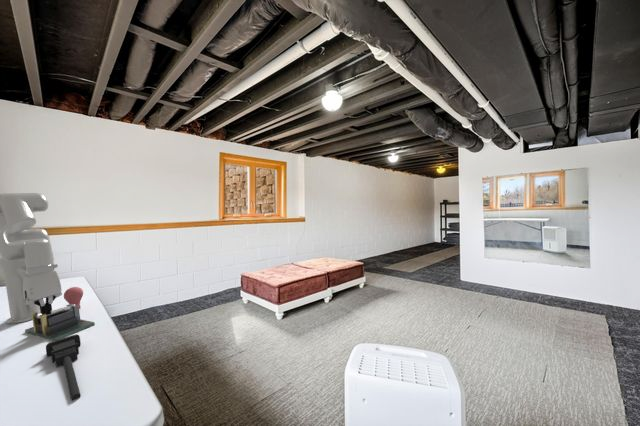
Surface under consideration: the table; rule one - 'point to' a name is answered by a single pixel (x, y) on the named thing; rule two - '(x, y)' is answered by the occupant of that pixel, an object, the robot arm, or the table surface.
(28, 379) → the table surface
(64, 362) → the electrical plug
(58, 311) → the retention strap
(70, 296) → the light bulb
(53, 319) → the circuit board
